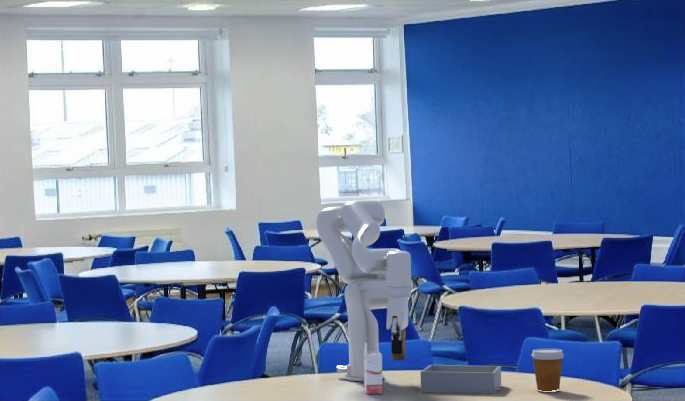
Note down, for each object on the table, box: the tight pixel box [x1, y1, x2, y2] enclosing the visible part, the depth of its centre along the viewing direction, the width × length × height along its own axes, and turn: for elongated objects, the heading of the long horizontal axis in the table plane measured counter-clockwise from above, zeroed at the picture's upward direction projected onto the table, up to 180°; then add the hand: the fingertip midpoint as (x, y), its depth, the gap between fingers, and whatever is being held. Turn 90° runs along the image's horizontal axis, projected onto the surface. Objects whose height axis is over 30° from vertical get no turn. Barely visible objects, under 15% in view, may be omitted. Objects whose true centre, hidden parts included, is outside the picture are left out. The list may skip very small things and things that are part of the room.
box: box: [420, 364, 502, 394], centre depth 367 cm, size 22×14×6 cm, turn 75°
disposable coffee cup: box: [530, 348, 565, 391], centre depth 359 cm, size 10×10×12 cm
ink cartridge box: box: [363, 343, 384, 395], centre depth 365 cm, size 9×5×15 cm, turn 5°
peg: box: [391, 326, 406, 361], centre depth 370 cm, size 4×4×10 cm
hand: (398, 351), depth 370 cm, fingers closed on peg, 4 cm apart
